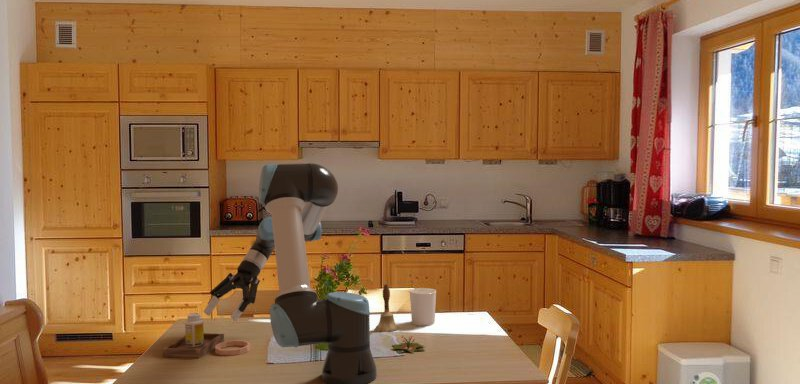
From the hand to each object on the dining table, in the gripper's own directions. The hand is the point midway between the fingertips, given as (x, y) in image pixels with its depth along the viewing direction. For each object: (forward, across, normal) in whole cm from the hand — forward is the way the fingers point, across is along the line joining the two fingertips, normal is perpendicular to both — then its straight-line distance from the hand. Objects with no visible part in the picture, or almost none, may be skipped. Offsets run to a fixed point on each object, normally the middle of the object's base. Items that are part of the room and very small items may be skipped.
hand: (219, 316), depth 210 cm
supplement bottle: (+13, 0, +2) cm, 13 cm away
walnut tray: (+13, 0, +2) cm, 13 cm away
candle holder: (-32, -47, -44) cm, 72 cm away
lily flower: (-12, -59, -24) cm, 65 cm away
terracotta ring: (+9, -12, -2) cm, 15 cm away
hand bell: (-23, -40, -35) cm, 58 cm away
